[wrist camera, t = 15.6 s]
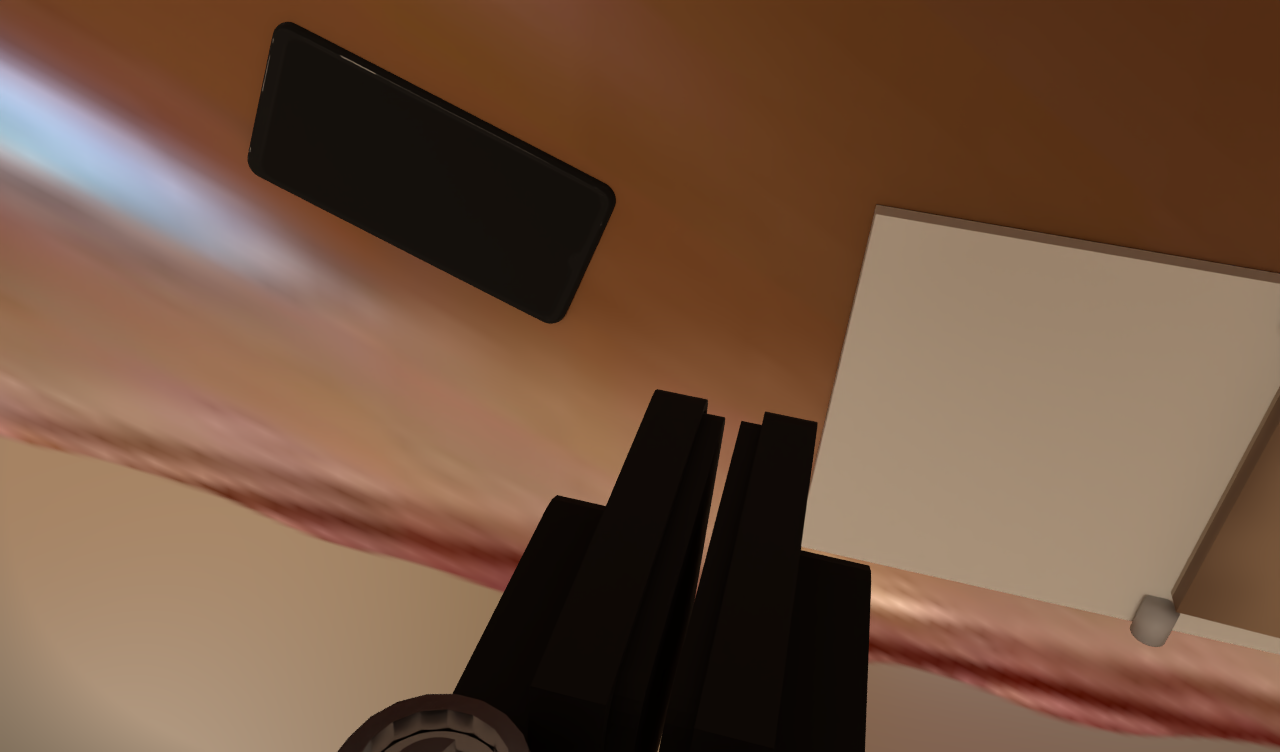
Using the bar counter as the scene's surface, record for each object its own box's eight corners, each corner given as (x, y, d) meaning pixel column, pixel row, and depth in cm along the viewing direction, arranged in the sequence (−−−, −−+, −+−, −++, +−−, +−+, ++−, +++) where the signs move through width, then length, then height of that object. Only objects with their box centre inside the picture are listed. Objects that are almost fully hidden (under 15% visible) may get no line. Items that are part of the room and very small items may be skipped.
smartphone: (273, 16, 37) (619, 194, 37) (284, 13, 38) (624, 188, 38) (241, 170, 41) (556, 331, 41) (252, 165, 41) (562, 323, 42)
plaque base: (1800, 362, 31) (1859, 399, 29) (1518, 692, 40) (1549, 737, 38) (876, 204, 36) (874, 227, 34) (798, 531, 44) (793, 564, 42)
